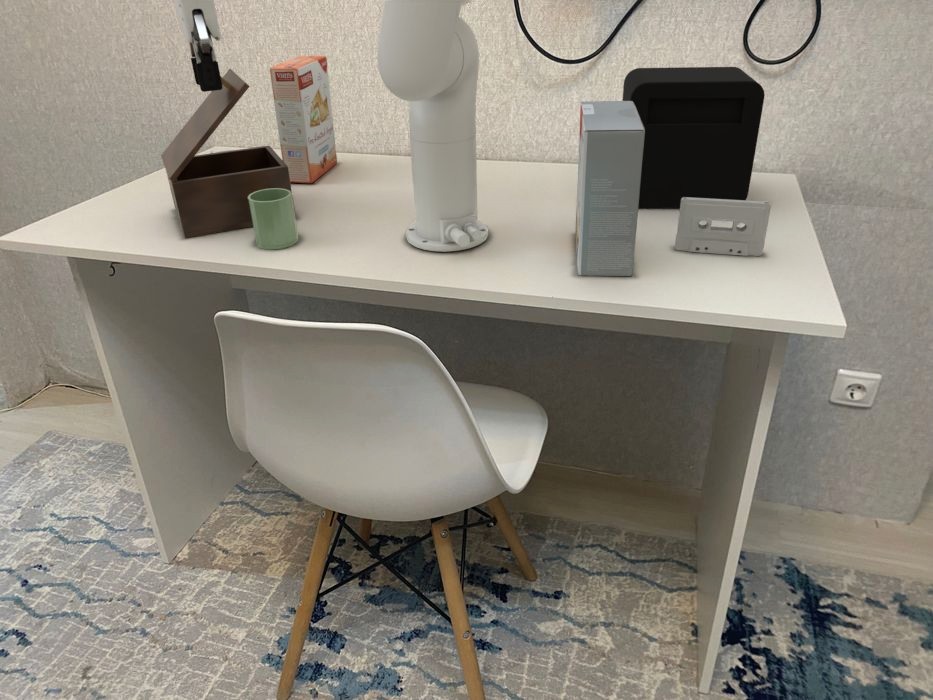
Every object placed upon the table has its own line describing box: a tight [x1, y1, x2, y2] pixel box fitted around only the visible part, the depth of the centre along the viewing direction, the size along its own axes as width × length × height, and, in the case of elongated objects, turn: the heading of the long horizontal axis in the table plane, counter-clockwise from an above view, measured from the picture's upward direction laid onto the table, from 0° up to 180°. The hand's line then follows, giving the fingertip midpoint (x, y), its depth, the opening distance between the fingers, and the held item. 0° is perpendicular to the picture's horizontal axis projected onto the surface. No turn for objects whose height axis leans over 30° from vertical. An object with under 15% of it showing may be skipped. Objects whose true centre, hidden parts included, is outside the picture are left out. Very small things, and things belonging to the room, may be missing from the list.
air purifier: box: [621, 66, 765, 209], centre depth 123 cm, size 20×15×20 cm
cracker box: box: [269, 55, 338, 184], centre depth 140 cm, size 14×6×21 cm, turn 168°
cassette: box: [674, 197, 772, 257], centre depth 104 cm, size 12×2×8 cm, turn 75°
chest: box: [166, 145, 297, 239], centre depth 124 cm, size 18×15×9 cm
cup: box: [247, 188, 299, 251], centre depth 113 cm, size 6×6×8 cm
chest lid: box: [160, 68, 250, 182], centre depth 116 cm, size 19×15×5 cm
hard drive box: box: [575, 100, 645, 277], centre depth 101 cm, size 16×8×20 cm, turn 174°
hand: (209, 85), depth 115 cm, fingers closed on chest lid, 5 cm apart
